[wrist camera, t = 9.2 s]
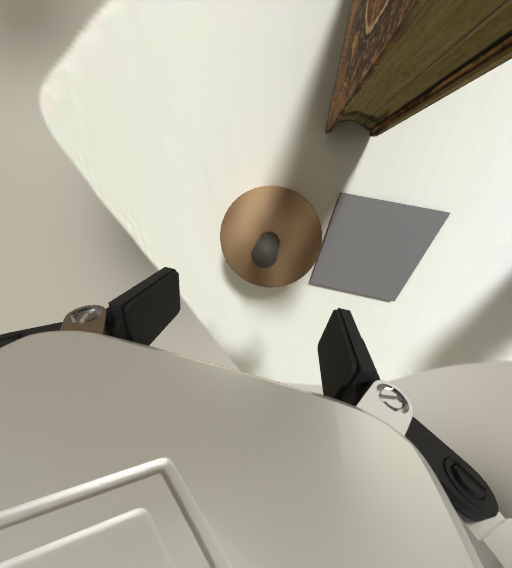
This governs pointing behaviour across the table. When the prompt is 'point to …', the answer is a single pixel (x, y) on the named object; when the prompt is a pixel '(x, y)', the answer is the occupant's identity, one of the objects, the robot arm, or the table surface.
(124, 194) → the table surface
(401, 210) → the mat
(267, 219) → the lid
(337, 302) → the table surface
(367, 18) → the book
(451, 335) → the table surface
